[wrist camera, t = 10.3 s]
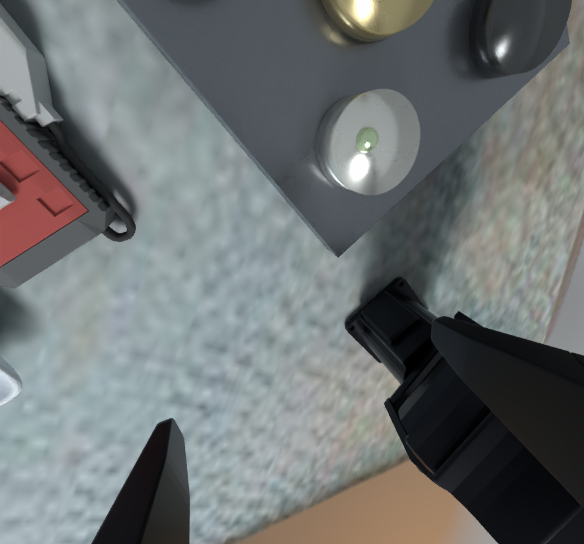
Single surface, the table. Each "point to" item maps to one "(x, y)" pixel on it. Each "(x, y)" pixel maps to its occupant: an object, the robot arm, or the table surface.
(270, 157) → the instrument base
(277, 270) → the table surface
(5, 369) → the salad plate
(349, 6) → the brass knob
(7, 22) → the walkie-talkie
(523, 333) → the table surface
